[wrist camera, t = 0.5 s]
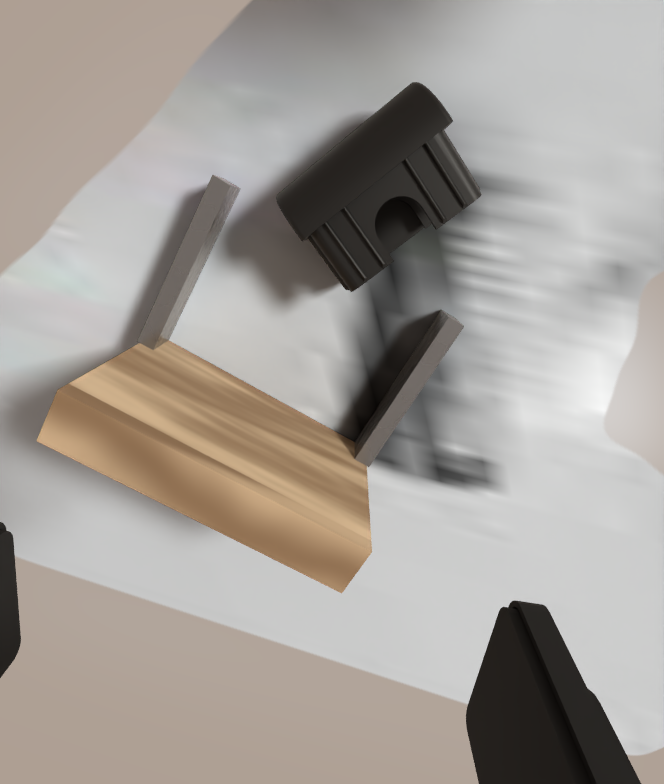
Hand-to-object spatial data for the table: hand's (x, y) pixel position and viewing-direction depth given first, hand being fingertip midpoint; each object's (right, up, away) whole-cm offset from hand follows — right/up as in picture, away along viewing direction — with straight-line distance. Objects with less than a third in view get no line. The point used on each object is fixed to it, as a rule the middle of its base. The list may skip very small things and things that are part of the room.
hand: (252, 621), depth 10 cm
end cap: (+4, +17, +24) cm, 30 cm away
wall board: (-4, +4, +29) cm, 29 cm away
